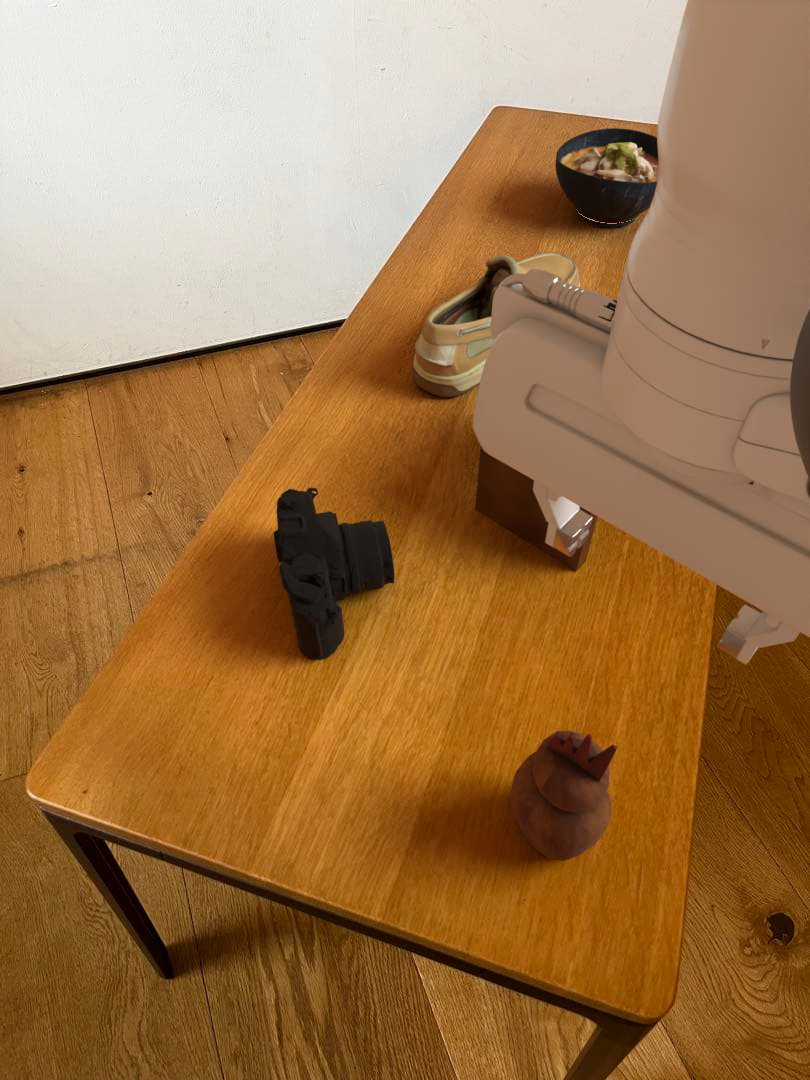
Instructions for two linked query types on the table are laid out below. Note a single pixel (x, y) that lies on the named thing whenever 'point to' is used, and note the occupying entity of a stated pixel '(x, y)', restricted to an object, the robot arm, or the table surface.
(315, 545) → the film camera
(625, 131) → the bowl
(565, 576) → the table surface
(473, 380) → the boat shoe
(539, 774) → the wooden figurine
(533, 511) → the display shelf
